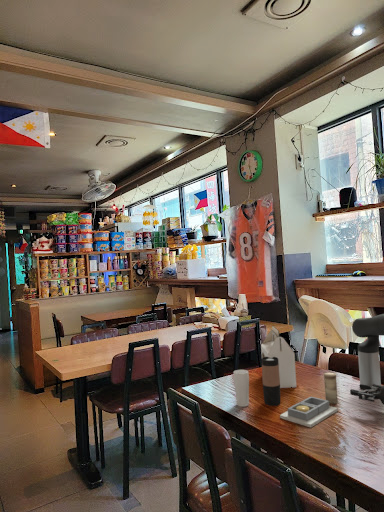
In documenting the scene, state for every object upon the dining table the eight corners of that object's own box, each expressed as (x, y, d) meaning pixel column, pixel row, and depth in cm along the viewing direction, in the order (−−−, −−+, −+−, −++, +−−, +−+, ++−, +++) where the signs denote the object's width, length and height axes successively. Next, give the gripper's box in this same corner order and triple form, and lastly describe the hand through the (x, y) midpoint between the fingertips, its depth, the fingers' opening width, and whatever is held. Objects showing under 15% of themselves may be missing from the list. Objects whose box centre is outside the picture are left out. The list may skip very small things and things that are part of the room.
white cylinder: (234, 403, 177) (232, 370, 177) (248, 401, 178) (246, 369, 178) (237, 408, 170) (234, 374, 170) (252, 407, 171) (250, 373, 171)
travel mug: (271, 407, 169) (268, 361, 169) (260, 402, 176) (257, 358, 176) (284, 403, 173) (282, 358, 173) (273, 398, 179) (271, 355, 180)
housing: (307, 403, 172) (307, 393, 172) (337, 410, 161) (337, 401, 161) (280, 417, 158) (279, 408, 158) (310, 427, 147) (310, 417, 147)
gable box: (262, 375, 215) (259, 325, 216) (286, 374, 215) (283, 324, 215) (270, 389, 193) (266, 332, 193) (296, 387, 193) (293, 331, 193)
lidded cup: (326, 399, 175) (324, 372, 175) (338, 400, 173) (336, 373, 173) (325, 403, 171) (323, 375, 171) (337, 404, 169) (335, 376, 169)
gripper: (402, 383, 156) (362, 376, 168) (387, 392, 147) (346, 384, 159) (403, 401, 156) (363, 393, 168) (389, 412, 147) (347, 402, 159)
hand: (355, 389), depth 163 cm, fingers open, 8 cm apart
